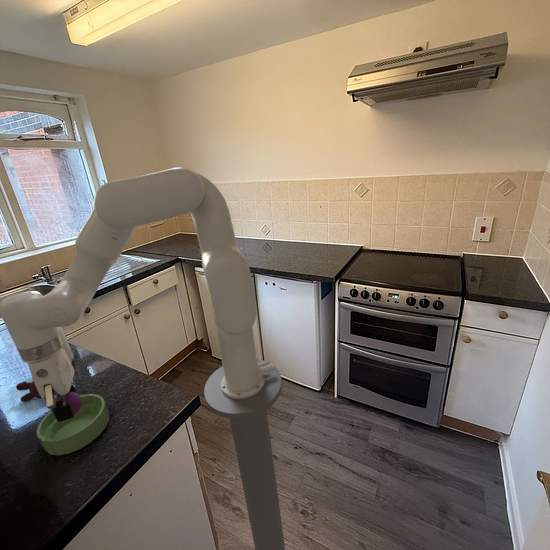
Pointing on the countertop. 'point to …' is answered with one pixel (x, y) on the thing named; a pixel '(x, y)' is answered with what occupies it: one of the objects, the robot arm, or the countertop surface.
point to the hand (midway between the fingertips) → (68, 408)
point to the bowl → (74, 427)
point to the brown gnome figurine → (32, 391)
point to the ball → (72, 401)
